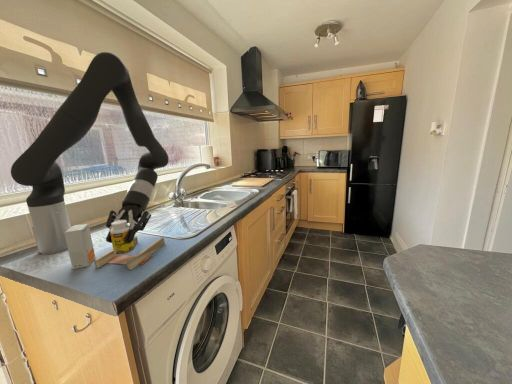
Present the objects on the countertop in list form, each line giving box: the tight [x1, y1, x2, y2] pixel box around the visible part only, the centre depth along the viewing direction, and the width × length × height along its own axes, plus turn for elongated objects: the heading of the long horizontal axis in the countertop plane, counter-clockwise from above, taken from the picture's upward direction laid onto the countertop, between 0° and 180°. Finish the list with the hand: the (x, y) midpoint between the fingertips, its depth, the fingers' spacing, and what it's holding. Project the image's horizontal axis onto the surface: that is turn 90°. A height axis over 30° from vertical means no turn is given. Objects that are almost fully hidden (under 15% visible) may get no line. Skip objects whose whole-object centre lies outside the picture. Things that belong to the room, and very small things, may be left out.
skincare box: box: [64, 223, 96, 270], centre depth 64 cm, size 6×4×12 cm
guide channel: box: [93, 235, 165, 271], centre depth 70 cm, size 15×17×2 cm
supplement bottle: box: [109, 220, 135, 256], centre depth 65 cm, size 6×6×10 cm
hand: (118, 242), depth 64 cm, fingers closed on supplement bottle, 5 cm apart
